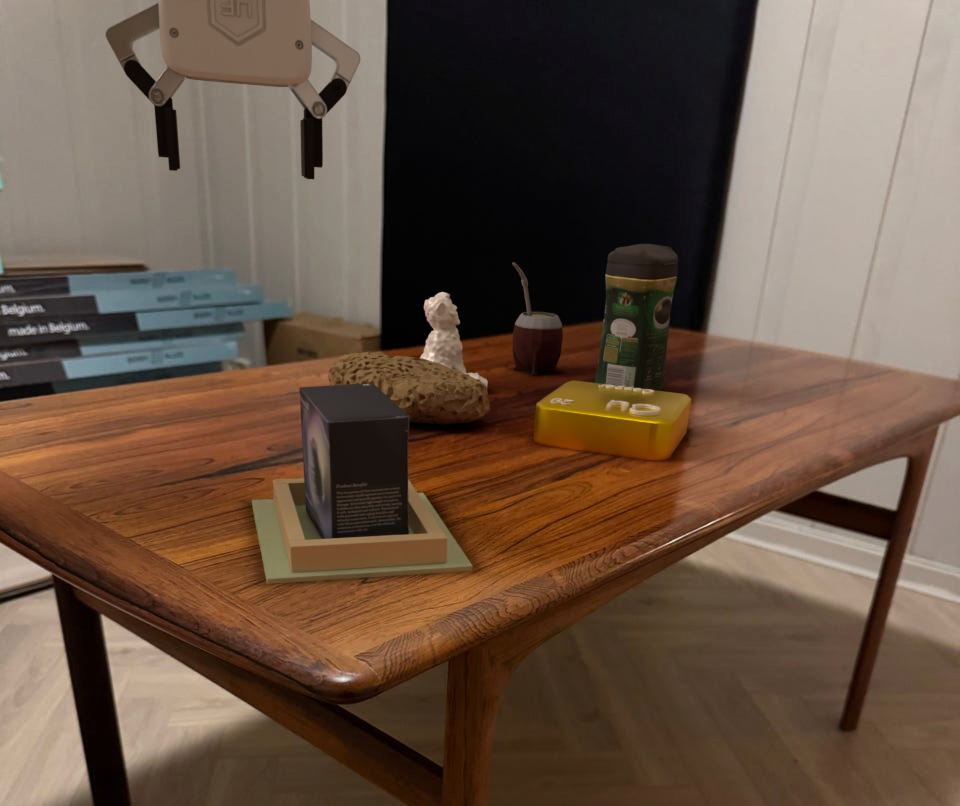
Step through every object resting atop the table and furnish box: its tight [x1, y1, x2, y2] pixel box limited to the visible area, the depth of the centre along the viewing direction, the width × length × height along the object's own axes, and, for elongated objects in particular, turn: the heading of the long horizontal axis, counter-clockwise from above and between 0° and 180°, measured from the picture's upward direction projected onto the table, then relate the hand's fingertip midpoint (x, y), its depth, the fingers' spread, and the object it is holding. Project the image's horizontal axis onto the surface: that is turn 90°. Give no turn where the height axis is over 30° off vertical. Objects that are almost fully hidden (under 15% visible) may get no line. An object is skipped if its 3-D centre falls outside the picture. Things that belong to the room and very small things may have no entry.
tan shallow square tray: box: [251, 477, 474, 585], centre depth 76 cm, size 15×17×3 cm
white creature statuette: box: [419, 291, 489, 392], centre depth 122 cm, size 10×9×12 cm
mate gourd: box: [511, 261, 564, 377], centre depth 133 cm, size 8×8×15 cm
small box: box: [298, 383, 411, 539], centre depth 74 cm, size 11×6×10 cm, turn 21°
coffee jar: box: [594, 243, 679, 391], centre depth 123 cm, size 10×8×19 cm
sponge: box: [327, 351, 491, 426], centre depth 109 cm, size 13×8×20 cm
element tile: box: [533, 380, 692, 462], centre depth 106 cm, size 15×15×5 cm
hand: (242, 174), depth 71 cm, fingers open, 9 cm apart
